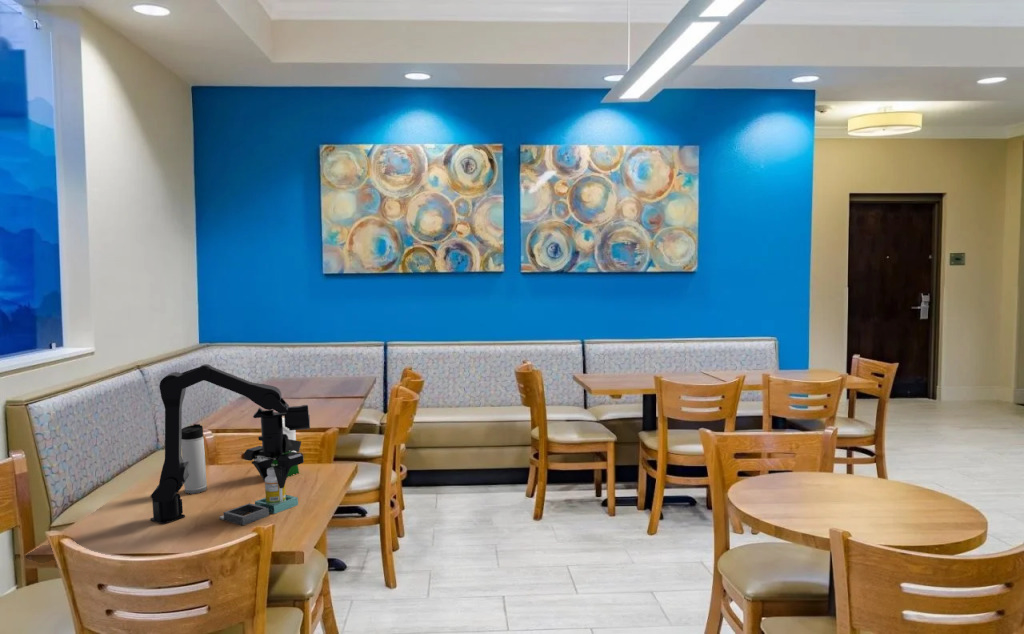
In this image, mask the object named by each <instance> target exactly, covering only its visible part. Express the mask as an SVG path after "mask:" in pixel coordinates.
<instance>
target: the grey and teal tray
mask: <svg viewBox="0 0 1024 634" xmlns="http://www.w3.org/2000/svg"><path fill="white" fill-rule="evenodd" d="M298 498H299V497H297V496H292V495H289V494H286V501H283V502H280V503H278V504H275V505H274V504H270V503H266V497H263V498H261V499H257V500H254V503H251V502H250V503H245V504H243V505H240V506H238V507H234V508H231V509H229V510H226V511H224V512H223V515H220V516H219V517H218V519H219V520H220V521H221V520H222V521H226V522H228V523H233V524H235V525H240V526H245V525H248V524H251V523H253V522H256V521H259V520H262V519H264V518H267V517H270V514H275V515H276V514H278V513H280V512H282V511H286V510H288V509H291V508H293V507H296V506H299V499H298ZM248 513H249V514H248Z"/></svg>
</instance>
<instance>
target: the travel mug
mask: <svg viewBox="0 0 1024 634" xmlns="http://www.w3.org/2000/svg"><path fill="white" fill-rule="evenodd" d="M181 455H182V459H183V462H189V465H188V473H189V476H188V478H187V480H186V481H185V483H184V484H183V487H184V492H185V494H187V493H188V495H194V494H195V493H196V494H201V493H203V491H204V492H206V491H207V489H208V486H207V483H208V482H207V470H206V469H207V467H206V454H205V440H204V428H203V425H201V424H200V423H197V424H196V423H195V424H192V425H188V426H185V427H182V438H181ZM200 492H201V493H200ZM189 493H190V494H189Z"/></svg>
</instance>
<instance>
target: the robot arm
mask: <svg viewBox="0 0 1024 634" xmlns="http://www.w3.org/2000/svg"><path fill="white" fill-rule="evenodd" d="M201 382H207V383H211V384H213V385H215V386H218V387H221V388H223V389H224V390H225V389H226V390H228V391H231V392H233V393H237V394H239V395H241V396H244V397H245V398H247V399H249V400H250V401H251V402H252V403H254V404H256V405H258V406H259V407H258V409H257V411H256V412H255V413H254V414H253V416H252V418H254V419H260V429H261V435H260V436H258V437H257V438H258V441H260V442H261V445H258V446H254V447H251V448H247V449H246V450H245V451H244V456H243V457H244V460H246V461H250V462H251V464H252V465H253V466H254V467H255V469H256V470H257V472H258V474H259V475H260V476H261V478H262V480H263V481H264V483H265V478H266V477H267V476H268V475H267V469H268V468H271V464H272V462H273V461H274V460H277V463H278V465H277V466H273V468H274V471H275V475H276V478H277V481H278V484H279V487H280V488H284V485H285V486H286V482H287V478H288V477H287V475H288V472H289V470H290V468H291V467H292V466H295V465H298V466H299V465H302V464H304V455H303V453H301V452H300V449H301V445H302V441H301V440H297V439H296V440H290V439H288V436H287V435H286V434H283V423H282V418H285V427H287V429H288V428H289V431H290V430H296V431H299V430H310V429H311V420H310V414H309V405H308V404H301V405H296V406H295V405H294V406H290V405H289V404H288V402H287V401H286V400H285V399H284V398H283V397H282V392H281V390H280V389H279V388H278V387H277V386H274V385H269V384H264V383H257V382H252V381H249V380H246V379H244V378H241V377H238V376H236V375H234V374H231V373H228V372H227V371H224V370H221V369H219V368H216V367H214V366H212V365H211V364H208V363H203V364H202V365H200V366H198V367H195V368H192V369H189V370H185V371H183V372H179V371H174V372H171V373H170V372H169V374H167V375H166V376H164V377H163V378H162V379H161V380H160V382H159V392H160V393H159V394H160V397H161V401H162V404H163V405H164V406H163V407H164V461H163V465H162V468H161V471H160V472H161V473H160V476H159V482H158V485H157V486H156V488H155V489H154V491H152V492H151V494H150V498H151V502H152V516H153V517H151V518H150V520H149V521H151V522H154V523H158V524H162V525H166V524H169V523H171V522H174V521H176V520H177V521H178V520H179V519H183V518H186V515H185V514H183V512H184V510H183V499H182V498H181V493H178V492H179V491H180V490H181V489H182V487H184V483H185V481H186V480H187V478H188V476H189V473H188V465H189V462H183V459H182V445H181V441H182V440H181V438H182V428H183V427H182V425H183V423H182V421H183V420H182V419H183V417H182V414H183V413H182V411H183V402H184V398H185V396H186V391H187V388H189V387H192V386H193V385H196V384H198V383H201ZM262 408H263V409H262ZM289 450H290V451H296V452H297V453H296V452H290V453H287V452H289ZM283 453H287V454H284V455H283ZM276 456H277V457H276Z"/></svg>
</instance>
